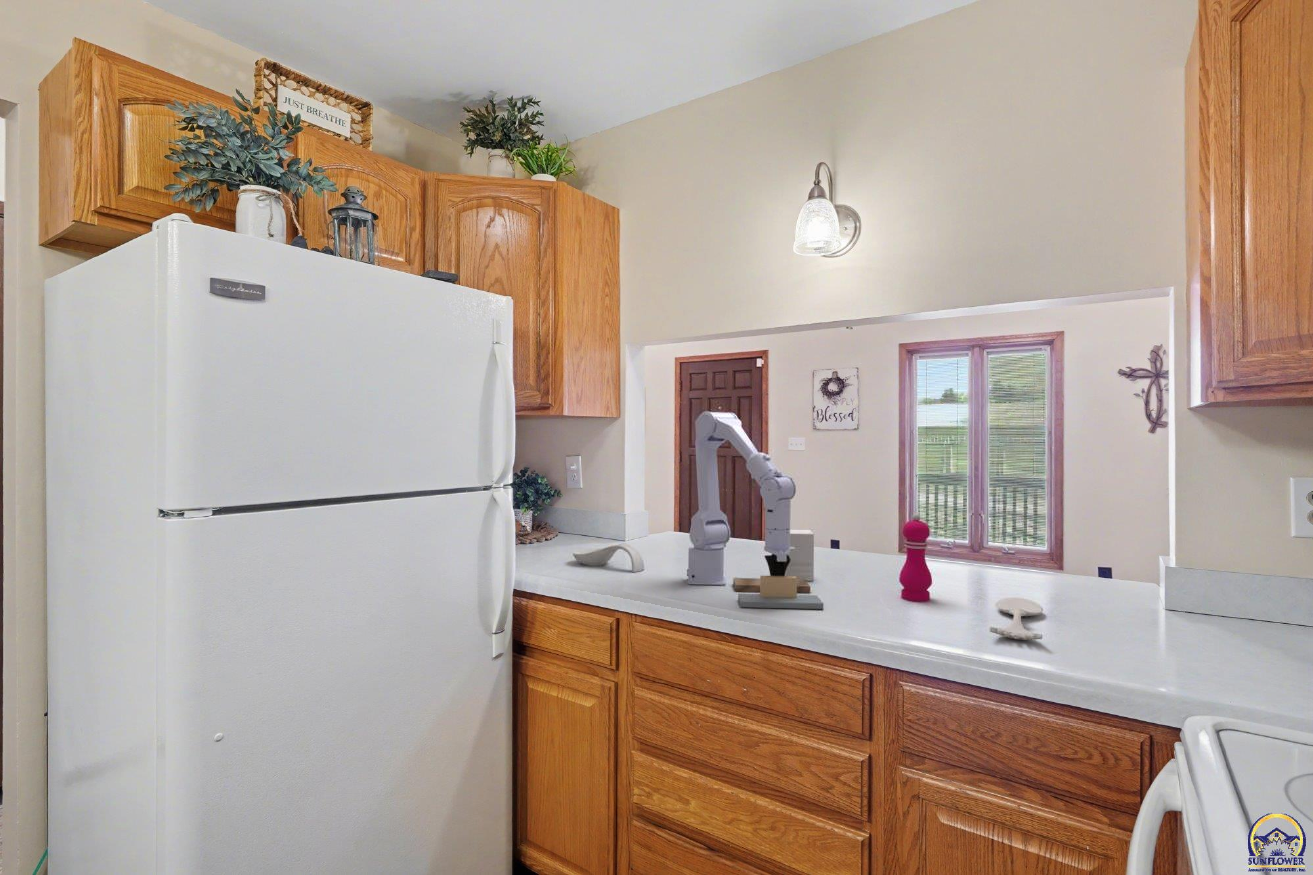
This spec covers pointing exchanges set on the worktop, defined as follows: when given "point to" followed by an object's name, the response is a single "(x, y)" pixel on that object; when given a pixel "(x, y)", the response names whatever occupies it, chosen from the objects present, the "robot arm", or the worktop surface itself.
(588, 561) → the spoon rest
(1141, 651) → the worktop surface
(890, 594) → the worktop surface
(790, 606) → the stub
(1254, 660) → the worktop surface
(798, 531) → the supplement box
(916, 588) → the pepper mill
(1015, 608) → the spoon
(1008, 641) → the worktop surface
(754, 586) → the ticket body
